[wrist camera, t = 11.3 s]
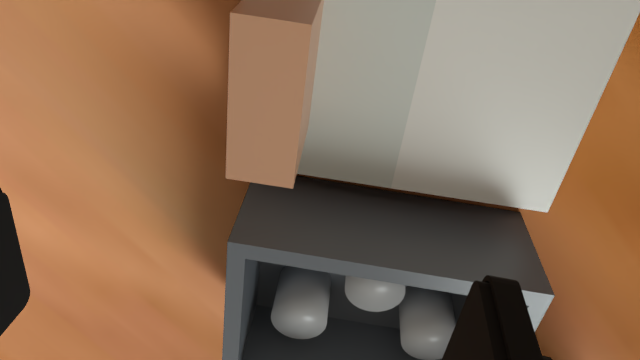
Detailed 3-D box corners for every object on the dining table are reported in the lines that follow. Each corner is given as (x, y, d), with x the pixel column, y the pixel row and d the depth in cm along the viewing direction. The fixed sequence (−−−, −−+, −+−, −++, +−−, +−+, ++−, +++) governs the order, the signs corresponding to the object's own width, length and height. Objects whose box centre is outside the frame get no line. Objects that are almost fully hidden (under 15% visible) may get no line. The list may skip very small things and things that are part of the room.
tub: (520, 212, 26) (554, 295, 21) (465, 338, 32) (481, 429, 27) (255, 168, 26) (227, 241, 21) (245, 302, 32) (221, 385, 27)
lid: (634, -45, 20) (749, -2, 14) (535, 187, 26) (584, 287, 20) (256, -101, 20) (205, -84, 14) (244, 142, 26) (205, 228, 20)
